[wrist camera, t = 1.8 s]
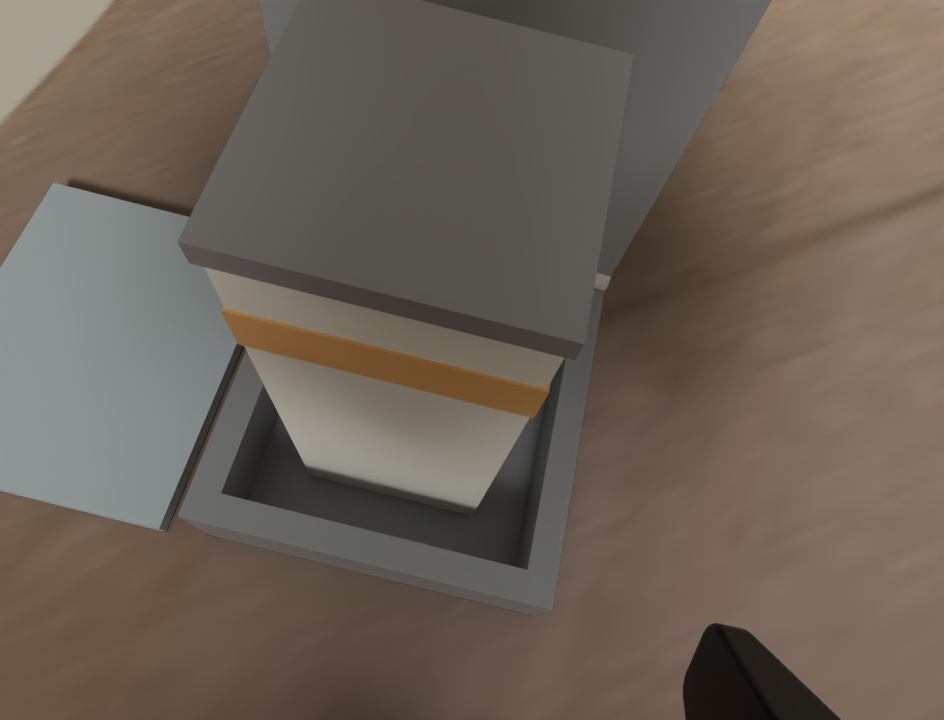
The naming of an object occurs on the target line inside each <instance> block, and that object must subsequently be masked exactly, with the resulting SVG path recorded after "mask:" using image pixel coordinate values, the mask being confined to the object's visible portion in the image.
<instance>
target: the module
mask: <svg viewBox="0 0 944 720" xmlns="http://www.w3.org/2000/svg"><path fill="white" fill-rule="evenodd" d="M633 57H634V54H630V53H626V52H622V51H618V50H614V49H611V48H607V47H603V46H599V45H595V44H591V43H587V42H583V41H579V40H575V39H571V38H567V37H563V36H559V35H555V34H552V33H548V32H544V31H540V30H536V29H532V28H528V27H524V26H520V25H516V24H512V23H508V22H504V21H500V20H496V19H493V18H489V17H485V16H481V15H477V14H473V13H469V12H465V11H461V10H457V9H453V8H449V7H445V6H441V5H437V4H434V3H430V2H426V1H422V0H298V2H297V4H296V6H295V8H294V10H293V12H292V14H291V16H290V18H289V20H288V22H287V24H286V26H285V28H284V30H283V32H282V34H281V36H280V38H279V40H278V42H277V44H276V46H275V48H274V50H273V52H272V54H271V56H270V58H269V60H268V62H267V64H266V66H265V68H264V70H263V72H262V74H261V76H260V78H259V80H258V82H257V84H256V86H255V88H254V90H253V92H252V94H251V96H250V98H249V100H248V102H247V104H246V106H245V108H244V110H243V112H242V114H241V116H240V118H239V120H238V122H237V124H236V126H235V127H234V129H233V131H232V133H231V135H230V137H229V139H228V141H227V143H226V145H225V147H224V149H223V151H222V153H221V155H220V157H219V159H218V161H217V163H216V165H215V167H214V169H213V171H212V173H211V175H210V177H209V179H208V181H207V183H206V185H205V187H204V189H203V191H202V193H201V195H200V197H199V199H198V201H197V203H196V205H195V207H194V209H193V211H192V213H191V215H190V217H189V219H188V221H187V223H186V225H185V227H184V229H183V231H182V233H181V235H180V237H179V239H178V241H177V242H178V244H179V246H180V248H181V250H182V251H183V253H184V255H185V257H186V259H187V261H188V262H189V263H190V264H194V265H198V266H202V267H204V269H205V271H206V273H207V275H208V277H209V279H210V281H211V283H212V284H213V286H214V288H215V290H216V292H217V294H218V296H219V298H220V300H221V302H222V304H223V306H222V309H221V313H222V315H223V317H224V319H225V320H226V322H227V324H228V326H229V328H230V330H231V332H232V334H233V336H234V337H235V339H236V341H237V343H238V344H239V345H243V346H244V347H245V349H246V351H247V353H248V355H249V357H250V359H251V361H252V363H253V365H254V367H255V369H256V371H257V373H258V375H259V376H260V378H261V380H262V382H263V384H264V386H265V388H266V390H267V392H268V394H269V396H270V398H271V400H272V402H273V404H274V406H275V408H276V410H277V412H278V414H279V416H280V418H281V420H282V421H283V423H284V425H285V427H286V429H287V431H288V433H289V435H290V437H291V439H292V441H293V443H294V445H295V447H296V449H297V451H298V453H299V455H300V457H301V459H302V461H303V463H304V465H305V466H306V468H307V470H308V472H309V474H310V475H311V476H315V477H319V478H323V479H327V480H331V481H335V482H339V483H343V484H347V485H351V486H355V487H359V488H363V489H367V490H371V491H375V492H379V493H383V494H387V495H391V496H395V497H399V498H403V499H407V500H411V501H415V502H419V503H423V504H427V505H431V506H435V507H439V508H443V509H447V510H451V511H455V512H459V513H463V514H467V515H471V516H473V514H474V512H475V510H476V509H477V507H478V505H479V504H480V502H481V500H482V498H483V497H484V495H485V493H486V492H487V490H488V488H489V486H490V485H491V483H492V481H493V480H494V478H495V476H496V475H497V473H498V471H499V469H500V468H501V466H502V464H503V463H504V461H505V459H506V457H507V456H508V454H509V452H510V451H511V449H512V447H513V445H514V444H515V442H516V440H517V439H518V437H519V435H520V433H521V432H522V430H523V428H524V427H525V425H526V423H527V422H528V420H529V418H534V417H535V415H536V414H537V412H538V410H539V409H540V407H541V405H542V404H543V402H544V401H545V399H546V397H547V396H548V394H549V390H550V384H551V380H552V379H553V377H554V375H555V374H556V372H557V370H558V369H559V367H560V365H561V363H562V362H563V360H564V358H568V359H572V360H575V359H576V357H577V355H578V354H579V352H580V351H581V349H582V347H583V346H584V344H585V338H586V333H587V327H588V321H589V315H590V309H591V303H592V297H593V292H594V286H595V280H596V274H597V268H598V262H599V256H600V250H601V245H602V239H603V233H604V227H605V221H606V215H607V209H608V204H609V198H610V192H611V186H612V180H613V174H614V168H615V162H616V157H617V151H618V145H619V139H620V133H621V127H622V121H623V116H624V110H625V104H626V98H627V92H628V86H629V80H630V74H631V69H632V63H633Z"/></svg>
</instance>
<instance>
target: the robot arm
mask: <svg viewBox="0 0 944 720" xmlns="http://www.w3.org/2000/svg"><path fill="white" fill-rule="evenodd" d="M683 700H684V709H685V718H686V720H841V719H840V718H839V717H838V716H837V715H836V714H835V713H834V712H832V711H831V710H830V709H829V708H828V707H827V706H826V705H825V704H824V703H823V702H822V701H821V700H820V699H819V698H818V697H817V696H816V695H815V694H814V693H813V692H812V691H811V690H810V689H808V688H807V687H806V686H805V685H804V684H803V683H802V682H801V681H800V680H799V679H798V678H797V677H796V676H795V675H794V674H793V673H792V672H791V671H790V670H789V669H788V668H787V667H786V666H784V665H783V664H782V663H781V662H780V661H779V660H778V659H777V658H776V657H775V656H774V655H773V654H772V653H771V652H770V651H769V650H768V649H767V648H766V647H765V646H764V645H763V644H761V643H760V642H759V641H758V640H757V639H756V638H755V637H754V636H753V635H752V634H751V633H750V632H748V631H747V630H745V629H742V628H737V627H732V626H728V625H723V624H718V623H714V624H711V625H709V626H708V627H707V628H706V630H705V631H704V633H703V635H702V637H701V640H700V642H699V644H698V647H697V649H696V651H695V653H694V656H693V658H692V660H691V663H690V665H689V667H688V669H687V672H686V675H685V678H684V684H683Z"/></svg>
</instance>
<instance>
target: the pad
mask: <svg viewBox="0 0 944 720" xmlns="http://www.w3.org/2000/svg"><path fill="white" fill-rule="evenodd" d="M188 219H189V217H188V216H184V215H180V214H176V213H172V212H168V211H164V210H160V209H156V208H152V207H148V206H144V205H140V204H136V203H132V202H128V201H124V200H120V199H116V198H112V197H108V196H104V195H100V194H96V193H92V192H88V191H84V190H80V189H77V188H73V187H69V186H65V185H61V184H57V183H53V185H52V186H51V188H50V189H49V191H48V193H47V194H46V196H45V197H44V199H43V201H42V202H41V204H40V205H39V207H38V209H37V210H36V212H35V213H34V215H33V217H32V218H31V220H30V221H29V223H28V225H27V226H26V228H25V229H24V231H23V233H22V234H21V236H20V237H19V239H18V240H17V242H16V244H15V245H14V247H13V248H12V250H11V252H10V253H9V255H8V256H7V258H6V260H5V261H4V263H3V264H2V266H1V268H0V491H3V492H7V493H11V494H15V495H19V496H23V497H27V498H31V499H35V500H39V501H43V502H47V503H51V504H55V505H59V506H63V507H67V508H71V509H75V510H79V511H83V512H87V513H91V514H95V515H99V516H103V517H107V518H111V519H115V520H119V521H123V522H127V523H131V524H135V525H139V526H143V527H147V528H151V529H155V530H159V531H163V532H166V531H167V528H168V526H169V523H170V521H171V519H172V516H173V514H174V511H175V509H176V507H177V504H178V502H179V499H180V497H181V495H182V492H183V490H184V487H185V485H186V483H187V480H188V478H189V475H190V473H191V471H192V468H193V466H194V463H195V461H196V459H197V456H198V454H199V451H200V449H201V447H202V444H203V442H204V439H205V437H206V435H207V432H208V430H209V427H210V425H211V422H212V420H213V418H214V415H215V413H216V410H217V408H218V406H219V403H220V401H221V398H222V396H223V394H224V391H225V389H226V386H227V384H228V382H229V379H230V377H231V374H232V372H233V370H234V367H235V365H236V362H237V360H238V358H239V355H240V353H241V350H242V348H243V345H239V344H238V343H237V341H236V339H235V337H234V336H233V334H232V332H231V330H230V328H229V326H228V324H227V322H226V320H225V319H224V317H223V315H222V313H221V309H222V306H223V304H222V302H221V300H220V298H219V296H218V294H217V292H216V290H215V288H214V286H213V284H212V283H211V281H210V279H209V277H208V275H207V273H206V271H205V269H204V267H202V266H198V265H194V264H190V263H189V262H188V261H187V259H186V257H185V255H184V253H183V251H182V250H181V248H180V246H179V244H178V242H177V241H178V239H179V237H180V235H181V233H182V231H183V229H184V227H185V225H186V223H187V221H188Z"/></svg>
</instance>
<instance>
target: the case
mask: <svg viewBox="0 0 944 720" xmlns="http://www.w3.org/2000/svg"><path fill="white" fill-rule="evenodd" d="M422 1H426V2H430V3H434V4H437V5H441V6H445V7H449V8H453V9H457V10H461V11H465V12H469V13H473V14H477V15H481V16H485V17H489V18H493V19H496V20H500V21H504V22H508V23H512V24H516V25H520V26H524V27H528V28H532V29H536V30H540V31H544V32H548V33H552V34H555V35H559V36H563V37H567V38H571V39H575V40H579V41H583V42H587V43H591V44H595V45H599V46H603V47H607V48H611V49H614V50H618V51H622V52H626V53H630V54H634V57H633V63H632V69H631V74H630V80H629V86H628V92H627V98H626V104H625V110H624V116H623V121H622V127H621V133H620V139H619V145H618V151H617V157H616V162H615V168H614V174H613V180H612V186H611V192H610V198H609V204H608V209H607V215H606V221H605V227H604V233H603V239H602V245H601V250H600V256H599V262H598V268H597V274H596V280H595V286H594V292H593V297H592V303H591V309H590V315H589V321H588V327H587V333H586V338H585V344H584V346H583V347H582V349H581V351H580V352H579V354H578V355H577V357H576V359H575V360H572V359H568V358H564V360H563V362H562V363H561V365H560V367H559V369H558V370H557V372H556V374H555V375H554V377H553V379H552V380H551V384H550V390H549V394H548V396H547V397H546V399H545V401H544V402H543V404H542V405H541V407H540V409H539V410H538V412H537V414H536V415H535V417H534V418H529V420H528V422H527V423H526V425H525V427H524V428H523V430H522V432H521V433H520V435H519V437H518V439H517V440H516V442H515V444H514V445H513V447H512V449H511V451H510V452H509V454H508V456H507V457H506V459H505V461H504V463H503V464H502V466H501V468H500V469H499V471H498V473H497V475H496V476H495V478H494V480H493V481H492V483H491V485H490V486H489V488H488V490H487V492H486V493H485V495H484V497H483V498H482V500H481V502H480V504H479V505H478V507H477V509H476V510H475V512H474V514H473V516H471V515H467V514H463V513H459V512H455V511H451V510H447V509H443V508H439V507H435V506H431V505H427V504H423V503H419V502H415V501H411V500H407V499H403V498H399V497H395V496H391V495H387V494H383V493H379V492H375V491H371V490H367V489H363V488H359V487H355V486H351V485H347V484H343V483H339V482H335V481H331V480H327V479H323V478H319V477H315V476H311V475H310V474H309V472H308V470H307V468H306V466H305V465H304V463H303V461H302V459H301V457H300V455H299V453H298V451H297V449H296V447H295V445H294V443H293V441H292V439H291V437H290V435H289V433H288V431H287V429H286V427H285V425H284V423H283V421H282V420H281V418H280V416H279V414H278V412H277V410H276V408H275V406H274V404H273V402H272V400H271V398H270V396H269V394H268V392H267V390H266V388H265V386H264V384H263V382H262V380H261V378H260V376H259V375H258V373H257V371H256V369H255V367H254V365H253V363H252V361H251V359H250V357H249V355H248V353H247V351H246V352H245V354H244V356H243V359H242V361H241V364H240V366H239V368H238V371H237V373H236V376H235V378H234V381H233V383H232V385H231V388H230V390H229V393H228V395H227V398H226V400H225V402H224V405H223V407H222V410H221V412H220V415H219V417H218V419H217V422H216V424H215V427H214V429H213V432H212V434H211V436H210V439H209V441H208V444H207V446H206V448H205V451H204V453H203V456H202V458H201V461H200V463H199V465H198V468H197V470H196V473H195V475H194V478H193V480H192V482H191V485H190V487H189V490H188V492H187V495H186V497H185V499H184V502H183V504H182V507H181V509H180V511H179V514H178V516H177V517H179V518H180V519H182V520H184V521H185V522H187V523H189V524H191V525H192V526H194V527H196V528H197V529H199V530H201V531H202V532H204V533H206V534H208V535H210V536H214V537H218V538H222V539H226V540H230V541H234V542H238V543H242V544H246V545H250V546H254V547H258V548H262V549H266V550H270V551H274V552H278V553H282V554H286V555H290V556H294V557H298V558H302V559H306V560H310V561H314V562H318V563H322V564H326V565H330V566H334V567H338V568H342V569H346V570H350V571H354V572H358V573H362V574H366V575H370V576H374V577H378V578H382V579H386V580H390V581H394V582H398V583H402V584H406V585H410V586H414V587H418V588H422V589H426V590H430V591H434V592H438V593H442V594H446V595H450V596H454V597H459V598H463V599H467V600H471V601H475V602H479V603H483V604H487V605H491V606H495V607H499V608H503V609H507V610H511V611H515V612H519V613H523V614H527V615H534V614H539V613H543V612H548V611H552V610H553V605H554V599H555V593H556V587H557V581H558V575H559V568H560V562H561V556H562V550H563V544H564V538H565V531H566V525H567V519H568V513H569V507H570V501H571V494H572V488H573V482H574V476H575V470H576V464H577V457H578V451H579V445H580V439H581V433H582V427H583V420H584V414H585V408H586V402H587V396H588V390H589V383H590V377H591V371H592V365H593V359H594V353H595V347H596V340H597V334H598V328H599V322H600V316H601V310H602V303H603V297H604V291H605V290H606V288H607V286H608V284H609V281H610V278H611V276H612V274H613V272H614V271H615V269H616V267H617V266H618V264H619V262H620V260H621V259H622V257H623V255H624V254H625V252H626V250H627V248H628V247H629V245H630V243H631V242H632V240H633V238H634V236H635V235H636V233H637V231H638V229H639V228H640V226H641V224H642V223H643V221H644V219H645V217H646V216H647V214H648V212H649V211H650V209H651V207H652V205H653V204H654V202H655V200H656V199H657V197H658V195H659V193H660V192H661V190H662V188H663V187H664V185H665V183H666V181H667V180H668V178H669V176H670V174H671V173H672V171H673V169H674V168H675V166H676V164H677V162H678V161H679V159H680V157H681V156H682V154H683V152H684V150H685V149H686V147H687V145H688V144H689V142H690V140H691V138H692V137H693V135H694V133H695V132H696V130H697V128H698V126H699V125H700V123H701V121H702V119H703V118H704V116H705V114H706V113H707V111H708V109H709V107H710V106H711V104H712V102H713V101H714V99H715V97H716V95H717V94H718V92H719V90H720V89H721V87H722V85H723V83H724V82H725V80H726V78H727V77H728V75H729V73H730V71H731V70H732V68H733V66H734V64H735V63H736V61H737V59H738V58H739V56H740V54H741V52H742V51H743V49H744V47H745V46H746V44H747V42H748V40H749V39H750V37H751V35H752V34H753V32H754V30H755V28H756V27H757V25H758V23H759V22H760V20H761V18H762V16H763V15H764V13H765V11H766V9H767V8H768V6H769V4H770V3H771V1H772V0H422ZM297 2H298V0H259V5H260V10H261V14H262V19H263V24H264V28H265V33H266V38H267V42H268V47H269V52H270V56H271V54H272V52H273V50H274V48H275V46H276V44H277V42H278V40H279V38H280V36H281V34H282V32H283V30H284V28H285V26H286V24H287V22H288V20H289V18H290V16H291V14H292V12H293V10H294V8H295V6H296V4H297Z"/></svg>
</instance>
